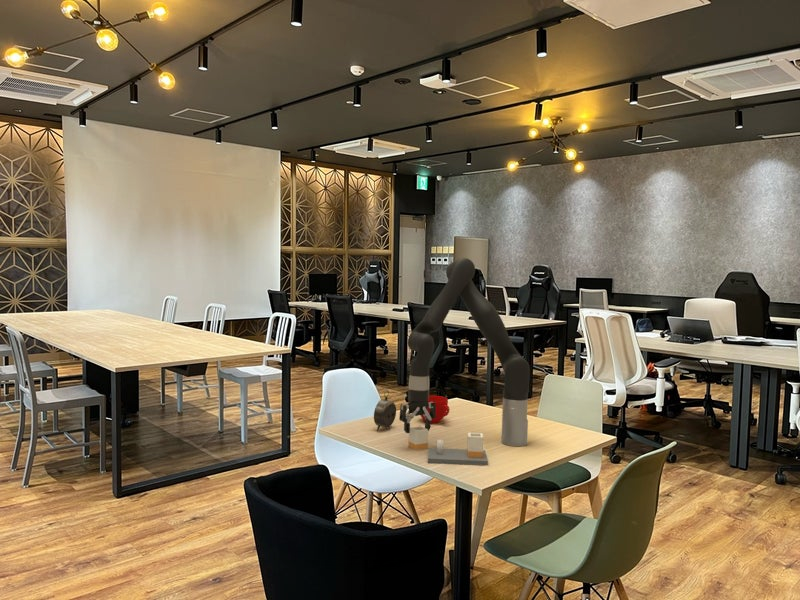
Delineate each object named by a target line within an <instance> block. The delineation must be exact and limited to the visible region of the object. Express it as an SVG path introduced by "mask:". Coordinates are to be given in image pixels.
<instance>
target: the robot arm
mask: <svg viewBox="0 0 800 600" xmlns="http://www.w3.org/2000/svg"><path fill="white" fill-rule="evenodd" d="M475 273H476V266H475V264H474V262H473V261H472V260H471V259H470V258H467V257H460V258H458V259H455V260H454V261H452V262H450V263H449V264H448V265H447V267H446V270H445V275H446V277H447V282H446V284H445V285H444V287H443V288H442V290H441V291H440V293H439V294H438V295H437V296H436V298H435V299H434V301H433V302H432V303H431V304H430V306H429V308H428V309H427V311H426V314H425V315H424V316H423V319H422V320H421V321H420V322H419V323H418V324H417V325H416V327H415V328H414V329H413V330H412V331H411V332H410V333H409V336H408V338H407V346H408V348H409V350H411V351H412V352H416V356H415V358H413V359H411V361H410V365H409V379H408V397H407V399H408V403H407V404H403V403H401V404H400V407H399V421H401V422H403V423H404V424H403V431H404V432H405V434H409V433H410V428H411V423H410V422H411V421H412V419H414V417H418V416H420V415H424V417H425V418H426V420H425V421H424V428H426V429H428V432H429V431H430V429H431V428H432V427H431V425H432V423H431V420H432V419H433V418H434V419H435V418H436V403H434V402H432V401H430V402H429V403H428V400H429V396H430V364H431V361H432V358H433V355H434V351H435V341H434V338H433V337H432V335H431V334H432V333H436V332H438V331H439V330H440V329H441V327H442V325H443V323H444V322H445V320H446V318H447V317H448V314H449V312H450V311H451V310H452V307H453V305H454V304H455V302H456V300H457V299H458V297H460V298H461V300H462V301H463V304H464V306H465V307H466V309H467V310H468V312H469V314H470V316H471V317H472V319H473V321H474V322H475V324H476V327H477V328H478V329H479V331H480V333H481V334H482V335H483V337H484V339H485V340H486V341H487V342H488V344H489V345H490V346H491V347H492V349H493V351H494V353H495V354H496V357H497V359H498V361H499V363H500V365H501V367H502V369H503V373H504V385H503V386H504V387H503V390H502V411H501V412H502V413H501V414H502V415H501V417H502V418H501V444H503V445H505V446H506V445H507V446H510V447H523V446H528V431H529V429H528V427H529V421H528V403H529V402H528V397H529V393H530V380H531V379H530V376H531V368H530V364H529V362H528V361H527V359H525V357H523V356H522V355H521V354H520V353H519V351H518V349H517V348H516V347H515V345H514V344H513V342H512V340H511V339H510V337H509V334H508V331H507V328H506V326H505V324H504V321H503V319H502V318H501V315H500V314H499V312H498V311H497V308H495V306H494V305H493V304H492V303H491V302H490V301H489V300H488V299H487V298H486V297H485V296H484V295H483V294H482V293H481V292H480V291H479V290H478V288H477V287H476V285H475V284H474V282H473V280H472V279H473V278H474V277H475ZM428 407H429V413H428V411H427V408H428Z"/></svg>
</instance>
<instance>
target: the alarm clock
mask: <svg viewBox="0 0 800 600" xmlns="http://www.w3.org/2000/svg"><path fill="white" fill-rule="evenodd" d="M386 392H387V396H386ZM389 392H390V391H389V390H388V389H385V390H384V393H383V394H384V395H383V396H384V398H382V399H380V400H379V401H378V402H377V404H376V405H375V408H374V412H373V421H374V424H375V426H377V429H376V431H377V432H378V431H379V429H380V428H386V429H387V428H388V430H389V431H390V430H391V426H392V425H393V423H394V422H395V419H396V416H397V407H396V406H397V405H396V403H395V401H392V400H389V399H388V397H389V394H390V393H389Z"/></svg>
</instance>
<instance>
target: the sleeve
mask: <svg viewBox="0 0 800 600" xmlns="http://www.w3.org/2000/svg"><path fill="white" fill-rule="evenodd" d="M428 437H429V431H428V429H426V428H425V426H421V425H420V426H410V433H408V446H409V447H408V448H410V447H411V449H412V448H413V450H414V449H415V450H414V451H418V449H421V450H426V449H425V448H427V449H428V442H429V439H428Z"/></svg>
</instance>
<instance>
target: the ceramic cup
mask: <svg viewBox="0 0 800 600" xmlns="http://www.w3.org/2000/svg"><path fill="white" fill-rule="evenodd" d="M430 401H432V402H434V403H436V418H435V419H434V418H433V419H432V420H431V424H432V423H434V424H440V422H441V421H442V420H443V419H444V418H445V417H447V416H448V415H449V413H450V407H449V405H448V404H449V399H448V398H447V397H445V396H440V395H429V400H428V403H429V402H430ZM427 411H428V413H429V407H428V408H427ZM419 416H420V418H422V420H423V421H424V422H425V420H426V418H425V417H424V415H419Z"/></svg>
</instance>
